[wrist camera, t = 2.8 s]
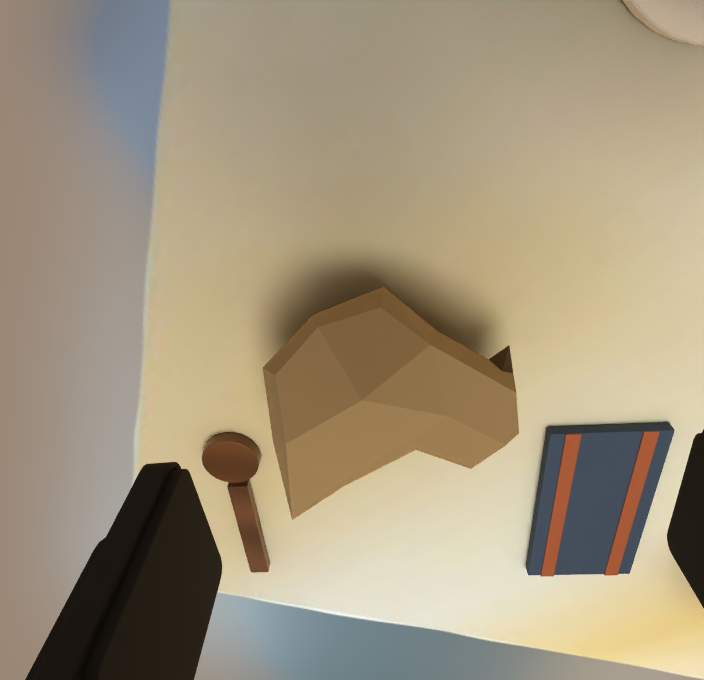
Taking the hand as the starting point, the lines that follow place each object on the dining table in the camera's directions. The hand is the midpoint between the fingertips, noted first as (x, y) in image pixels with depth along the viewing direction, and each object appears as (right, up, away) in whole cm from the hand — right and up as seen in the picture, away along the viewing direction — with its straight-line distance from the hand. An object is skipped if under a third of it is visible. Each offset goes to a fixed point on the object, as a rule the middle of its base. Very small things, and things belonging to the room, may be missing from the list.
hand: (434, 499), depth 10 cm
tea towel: (+16, -9, +29) cm, 34 cm away
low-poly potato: (+1, +2, +23) cm, 23 cm away
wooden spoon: (-10, -9, +30) cm, 33 cm away
